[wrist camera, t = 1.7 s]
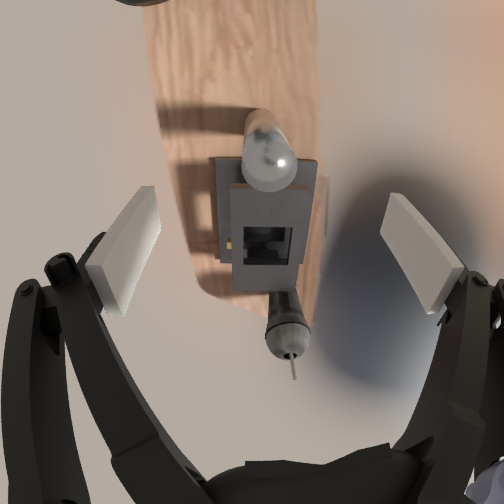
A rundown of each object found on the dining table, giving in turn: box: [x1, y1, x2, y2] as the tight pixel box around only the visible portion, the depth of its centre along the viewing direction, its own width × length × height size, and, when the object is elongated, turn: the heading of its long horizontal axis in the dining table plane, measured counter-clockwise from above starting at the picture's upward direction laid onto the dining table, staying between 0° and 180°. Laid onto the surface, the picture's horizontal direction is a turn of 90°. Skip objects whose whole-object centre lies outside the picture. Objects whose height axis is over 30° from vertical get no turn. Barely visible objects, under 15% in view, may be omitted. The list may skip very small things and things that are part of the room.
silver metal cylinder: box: [241, 109, 297, 192], centre depth 26 cm, size 4×4×18 cm
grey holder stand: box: [215, 157, 318, 291], centre depth 38 cm, size 18×14×8 cm
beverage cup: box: [265, 288, 310, 380], centre depth 43 cm, size 7×7×20 cm
